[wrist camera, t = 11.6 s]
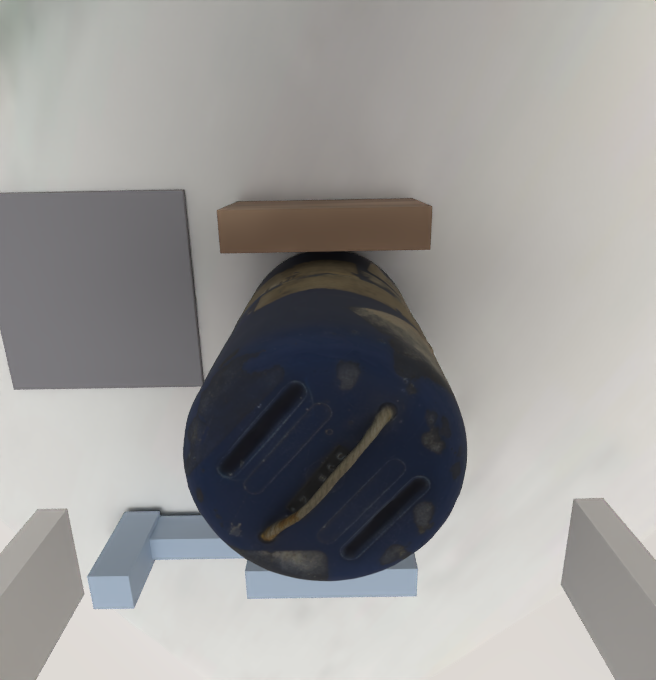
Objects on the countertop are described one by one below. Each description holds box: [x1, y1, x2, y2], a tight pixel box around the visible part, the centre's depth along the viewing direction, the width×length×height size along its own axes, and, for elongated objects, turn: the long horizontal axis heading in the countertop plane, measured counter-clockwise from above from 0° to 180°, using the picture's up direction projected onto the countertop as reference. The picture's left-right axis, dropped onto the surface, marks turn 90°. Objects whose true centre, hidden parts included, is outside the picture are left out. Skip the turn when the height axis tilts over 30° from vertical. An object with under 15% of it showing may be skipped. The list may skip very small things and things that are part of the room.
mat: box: [0, 190, 204, 390], centre depth 32 cm, size 12×12×1 cm
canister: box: [183, 251, 467, 581], centre depth 24 cm, size 10×10×18 cm
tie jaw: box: [87, 511, 418, 609], centre depth 34 cm, size 3×19×6 cm, turn 91°
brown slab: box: [217, 198, 432, 253], centre depth 31 cm, size 23×12×6 cm, turn 1°
